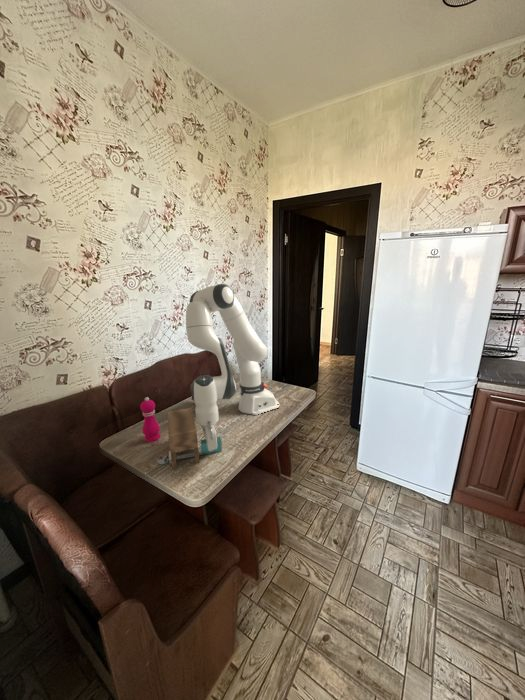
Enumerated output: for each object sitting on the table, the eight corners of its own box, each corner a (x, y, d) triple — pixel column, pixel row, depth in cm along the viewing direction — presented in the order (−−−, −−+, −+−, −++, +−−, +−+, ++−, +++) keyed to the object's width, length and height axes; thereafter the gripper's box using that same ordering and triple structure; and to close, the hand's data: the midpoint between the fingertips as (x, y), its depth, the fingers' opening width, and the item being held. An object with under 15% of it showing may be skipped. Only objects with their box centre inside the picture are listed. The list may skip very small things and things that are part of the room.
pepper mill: (150, 444, 120) (144, 402, 115) (140, 440, 124) (133, 398, 119) (164, 436, 126) (159, 395, 121) (154, 432, 130) (148, 392, 124)
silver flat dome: (169, 457, 112) (169, 454, 112) (169, 464, 108) (169, 461, 107) (158, 459, 111) (157, 456, 110) (157, 466, 107) (156, 464, 106)
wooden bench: (194, 435, 126) (191, 407, 122) (199, 463, 107) (196, 430, 104) (171, 440, 123) (167, 411, 119) (172, 469, 104) (168, 436, 101)
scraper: (219, 445, 119) (219, 434, 117) (222, 453, 113) (221, 442, 112) (169, 454, 112) (168, 443, 111) (169, 464, 107) (168, 452, 105)
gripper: (220, 427, 102) (222, 460, 105) (211, 404, 120) (213, 432, 124) (202, 431, 100) (205, 464, 103) (196, 406, 119) (199, 435, 122)
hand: (210, 446), depth 114 cm, fingers closed on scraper, 3 cm apart
